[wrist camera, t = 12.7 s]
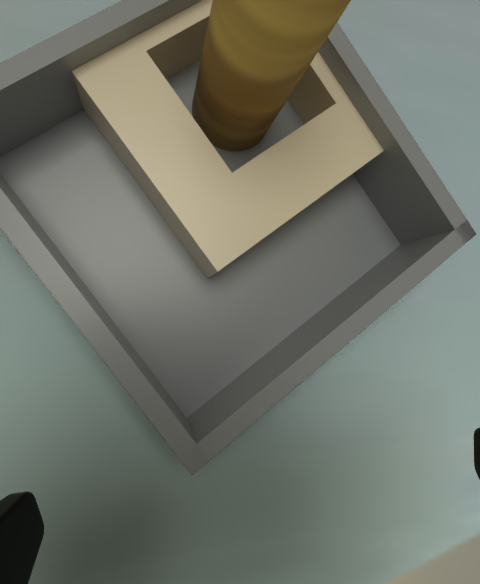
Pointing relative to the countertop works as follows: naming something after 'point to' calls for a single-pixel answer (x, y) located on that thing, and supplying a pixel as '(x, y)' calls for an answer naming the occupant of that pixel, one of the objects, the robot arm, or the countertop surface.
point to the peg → (256, 64)
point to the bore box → (210, 216)
